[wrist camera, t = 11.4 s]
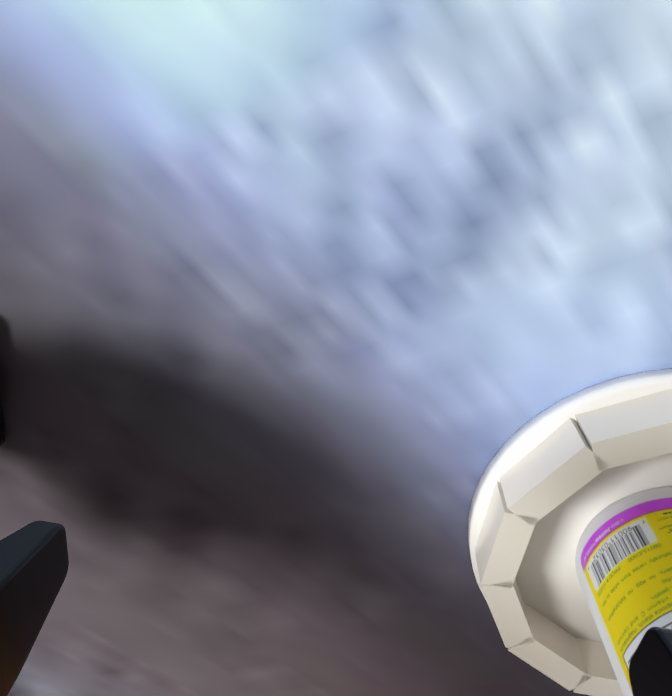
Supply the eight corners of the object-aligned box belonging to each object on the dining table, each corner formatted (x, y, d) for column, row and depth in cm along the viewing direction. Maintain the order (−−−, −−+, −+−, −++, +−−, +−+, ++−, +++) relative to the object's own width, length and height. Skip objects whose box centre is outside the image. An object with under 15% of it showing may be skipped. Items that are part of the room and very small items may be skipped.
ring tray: (435, 620, 27) (439, 675, 24) (520, 337, 20) (539, 373, 18) (750, 674, 26) (788, 736, 24) (938, 403, 20) (1017, 449, 17)
